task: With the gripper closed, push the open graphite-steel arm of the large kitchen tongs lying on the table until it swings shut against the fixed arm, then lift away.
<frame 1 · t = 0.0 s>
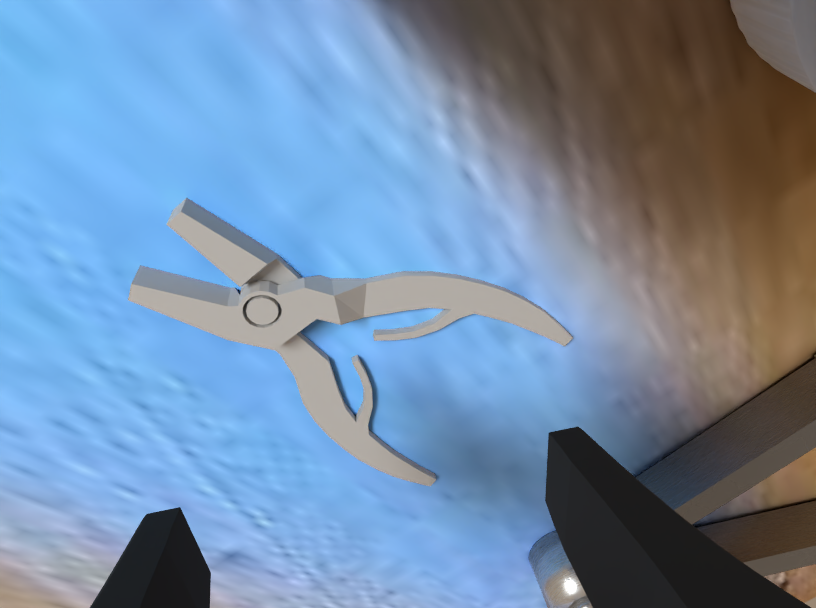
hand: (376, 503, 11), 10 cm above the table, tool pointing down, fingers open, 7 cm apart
pliers: (349, 329, 22), on the table
tongs frame: (560, 549, 31), on the table
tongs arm: (741, 451, 26), point 2 cm above the table, hinge at 35.0°
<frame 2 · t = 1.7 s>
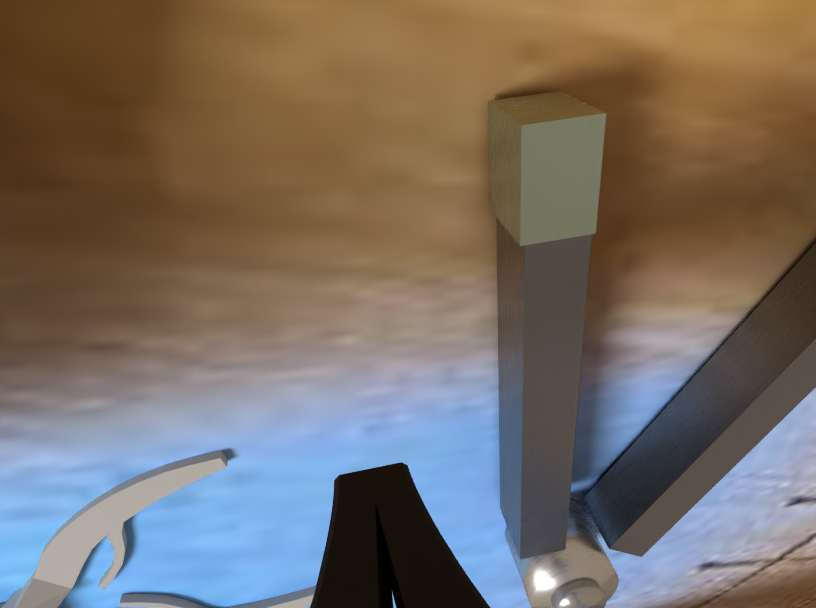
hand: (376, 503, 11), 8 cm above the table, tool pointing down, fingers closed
pliers: (103, 579, 23), on the table
tongs frame: (544, 525, 25), on the table
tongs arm: (534, 368, 18), point 2 cm above the table, hinge at 35.0°
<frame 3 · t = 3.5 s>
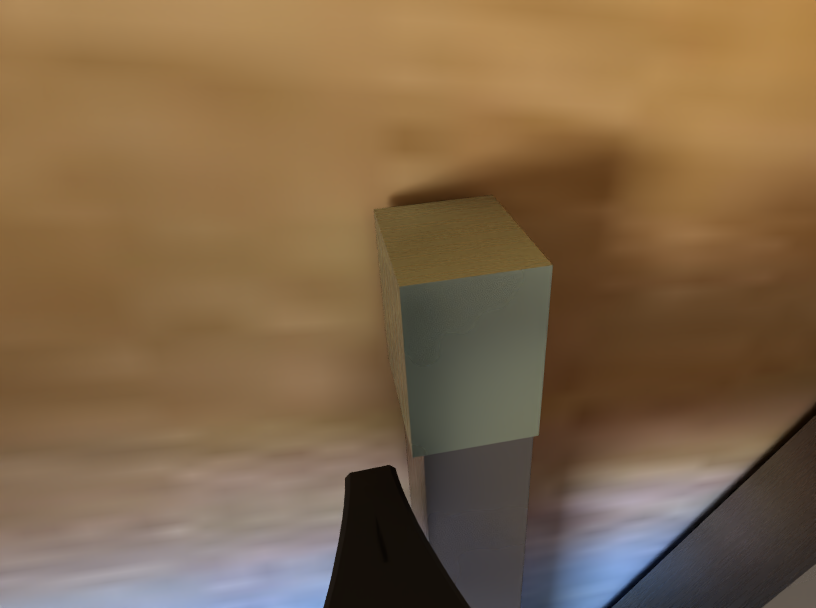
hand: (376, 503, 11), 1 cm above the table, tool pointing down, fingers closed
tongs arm: (459, 571, 13), point 2 cm above the table, hinge at 33.2°, touching gripper
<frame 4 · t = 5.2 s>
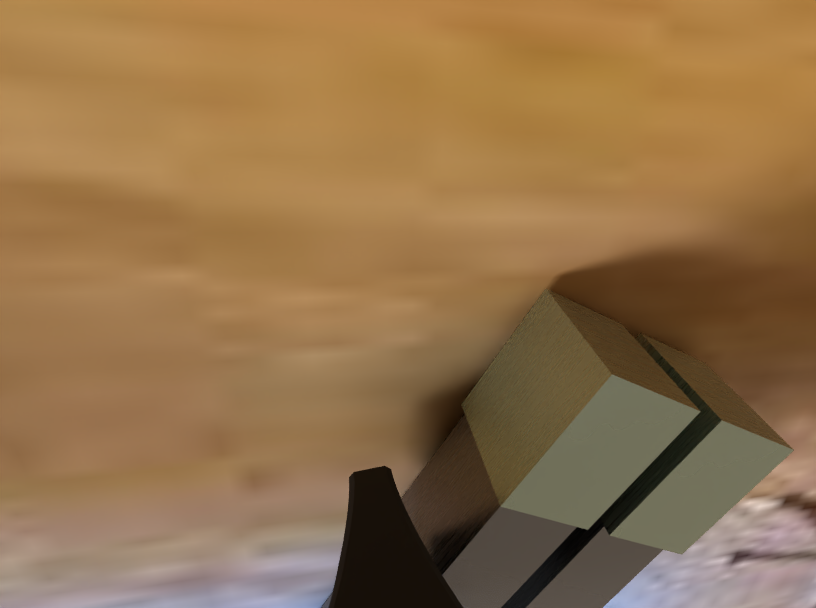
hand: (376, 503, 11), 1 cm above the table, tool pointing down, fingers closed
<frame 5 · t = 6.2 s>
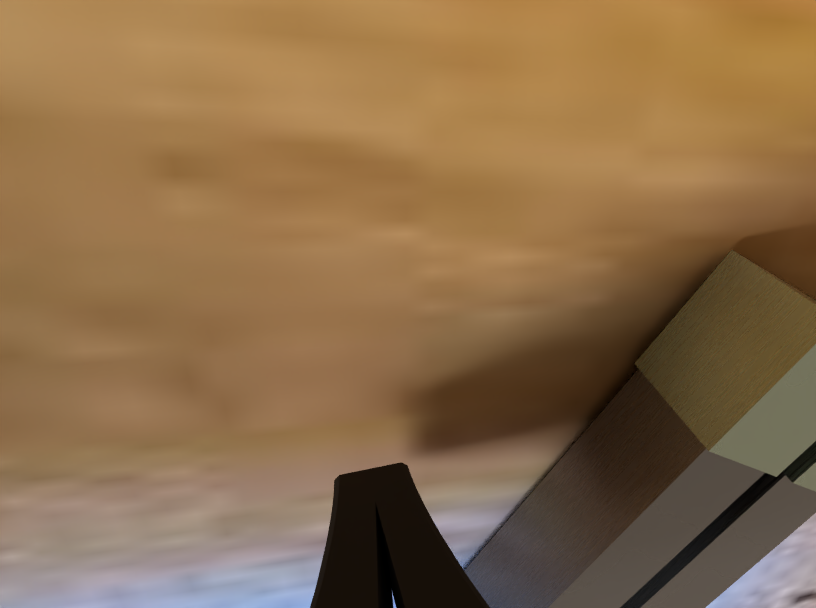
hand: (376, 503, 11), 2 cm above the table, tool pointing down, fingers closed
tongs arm: (553, 570, 14), point 2 cm above the table, hinge at -0.3°
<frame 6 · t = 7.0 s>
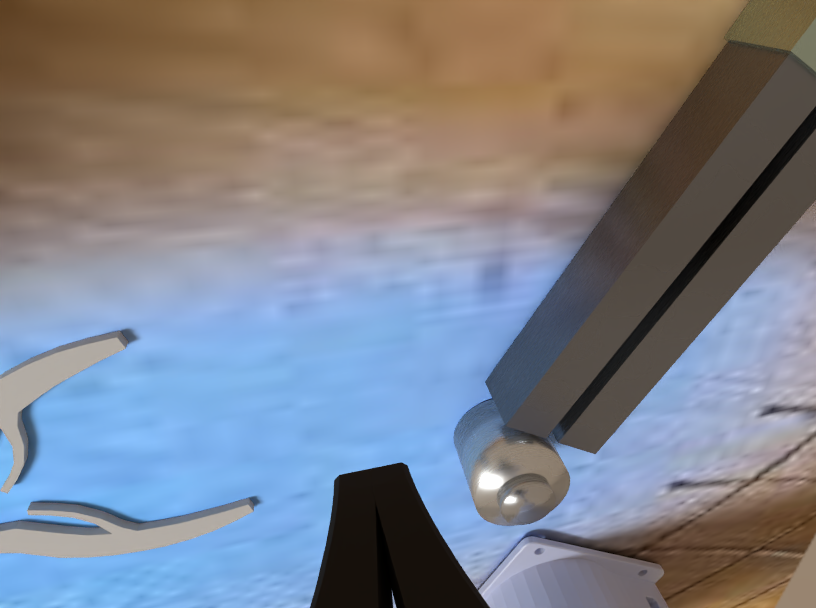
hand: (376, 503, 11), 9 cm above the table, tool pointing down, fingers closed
pliers: (11, 488, 21), on the table
tongs frame: (496, 431, 23), on the table
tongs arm: (657, 221, 18), point 2 cm above the table, hinge at -0.3°
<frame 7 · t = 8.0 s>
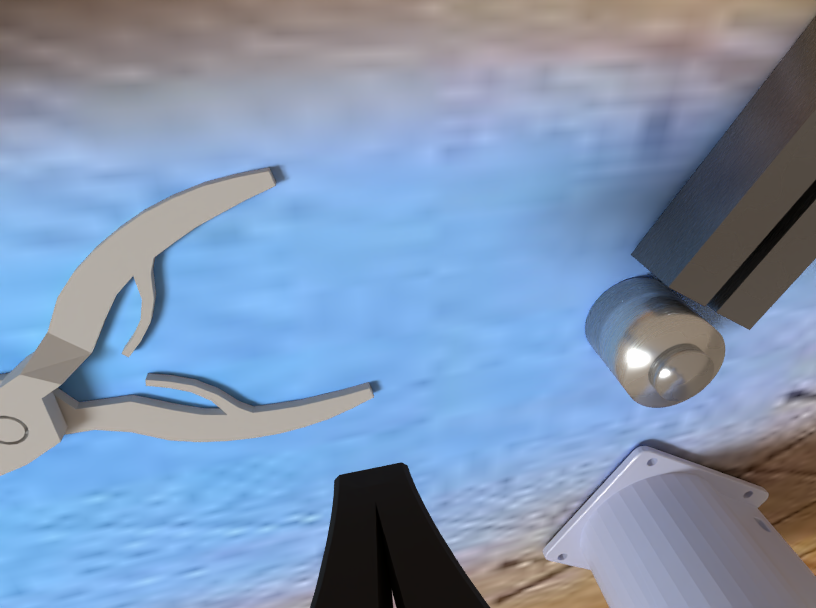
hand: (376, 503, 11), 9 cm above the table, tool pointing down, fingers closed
pliers: (126, 359, 20), on the table
tongs frame: (628, 317, 22), on the table
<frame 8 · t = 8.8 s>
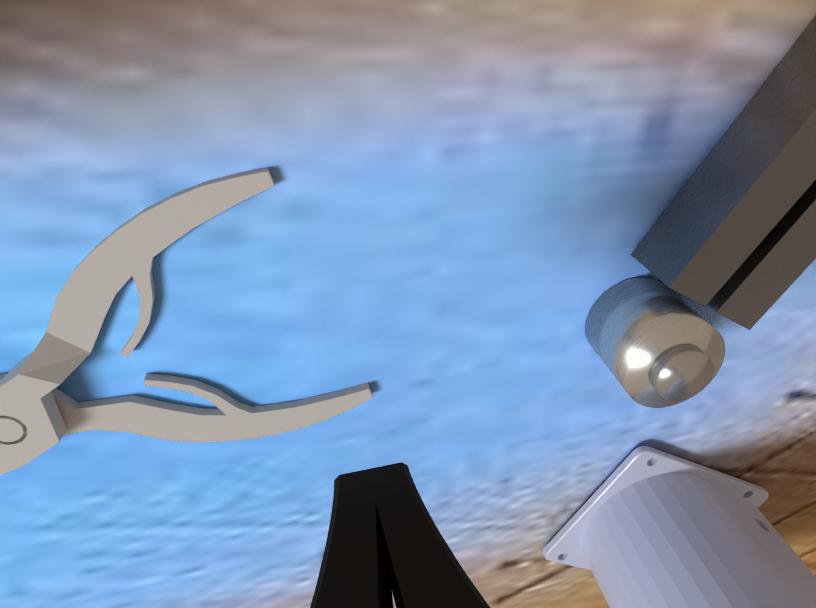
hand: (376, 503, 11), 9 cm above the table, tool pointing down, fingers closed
pliers: (124, 359, 20), on the table
tongs frame: (628, 317, 22), on the table
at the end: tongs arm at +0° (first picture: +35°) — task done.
